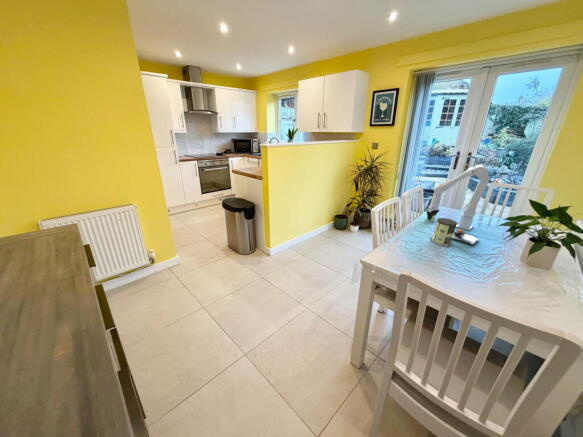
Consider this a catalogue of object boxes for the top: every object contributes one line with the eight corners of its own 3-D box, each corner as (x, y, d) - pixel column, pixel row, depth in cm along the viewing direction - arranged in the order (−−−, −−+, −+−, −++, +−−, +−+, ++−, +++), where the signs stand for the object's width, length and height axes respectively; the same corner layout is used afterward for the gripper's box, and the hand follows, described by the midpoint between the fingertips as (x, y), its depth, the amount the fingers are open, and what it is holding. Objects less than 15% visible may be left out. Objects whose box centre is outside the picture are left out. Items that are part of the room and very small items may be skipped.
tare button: (458, 231, 151) (459, 229, 150) (462, 232, 149) (463, 230, 148) (457, 232, 149) (457, 229, 149) (461, 233, 148) (462, 231, 147)
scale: (455, 233, 154) (456, 229, 152) (478, 240, 144) (479, 236, 143) (448, 238, 146) (449, 234, 145) (471, 246, 137) (473, 242, 136)
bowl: (428, 218, 178) (429, 213, 176) (435, 220, 174) (437, 215, 172) (425, 220, 175) (426, 214, 173) (432, 222, 171) (434, 217, 169)
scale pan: (462, 234, 146) (462, 233, 146) (476, 238, 141) (477, 237, 140) (458, 237, 142) (458, 236, 142) (473, 241, 136) (473, 241, 136)
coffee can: (447, 239, 145) (454, 219, 139) (452, 247, 136) (459, 225, 130) (429, 236, 148) (435, 216, 143) (433, 243, 139) (439, 222, 134)
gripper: (433, 199, 175) (429, 215, 181) (425, 202, 167) (421, 219, 172) (443, 201, 170) (438, 218, 176) (435, 205, 162) (430, 222, 167)
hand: (430, 218), depth 174 cm, fingers open, 6 cm apart
